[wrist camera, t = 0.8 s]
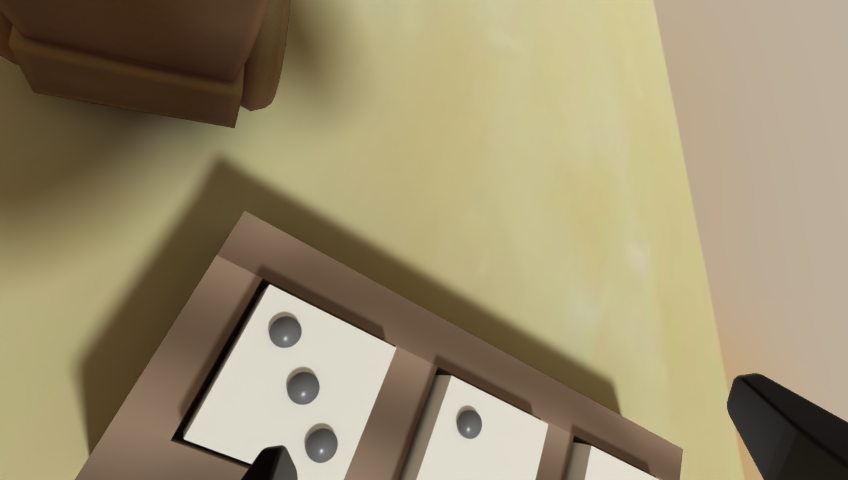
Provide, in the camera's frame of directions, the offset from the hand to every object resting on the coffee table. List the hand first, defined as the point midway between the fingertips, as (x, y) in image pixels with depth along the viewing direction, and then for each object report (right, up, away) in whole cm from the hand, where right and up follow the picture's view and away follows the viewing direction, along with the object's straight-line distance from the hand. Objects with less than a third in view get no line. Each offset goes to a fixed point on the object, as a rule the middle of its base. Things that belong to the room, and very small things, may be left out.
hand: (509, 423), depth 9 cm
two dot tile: (0, -7, +14) cm, 15 cm away
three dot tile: (-8, -3, +11) cm, 13 cm away
